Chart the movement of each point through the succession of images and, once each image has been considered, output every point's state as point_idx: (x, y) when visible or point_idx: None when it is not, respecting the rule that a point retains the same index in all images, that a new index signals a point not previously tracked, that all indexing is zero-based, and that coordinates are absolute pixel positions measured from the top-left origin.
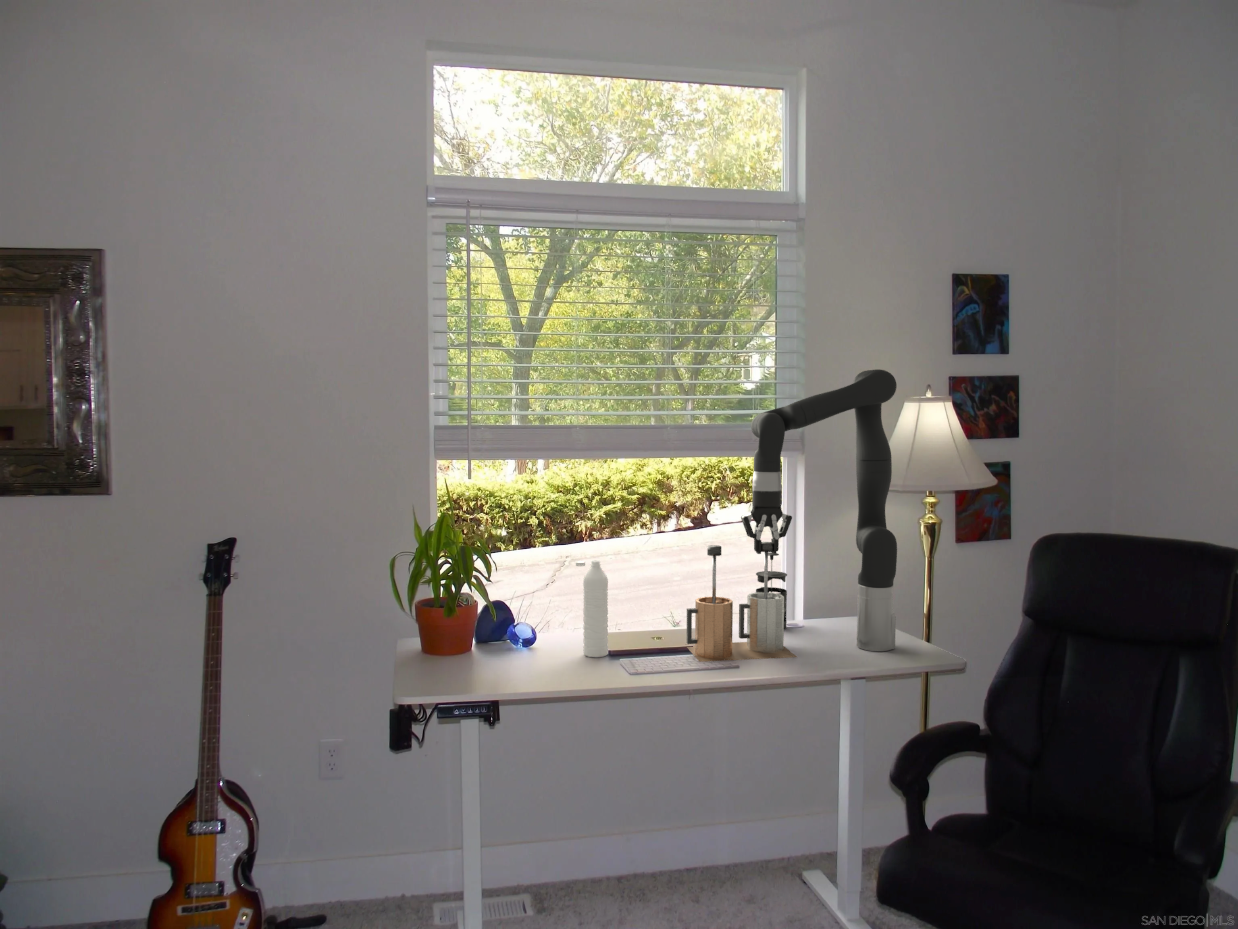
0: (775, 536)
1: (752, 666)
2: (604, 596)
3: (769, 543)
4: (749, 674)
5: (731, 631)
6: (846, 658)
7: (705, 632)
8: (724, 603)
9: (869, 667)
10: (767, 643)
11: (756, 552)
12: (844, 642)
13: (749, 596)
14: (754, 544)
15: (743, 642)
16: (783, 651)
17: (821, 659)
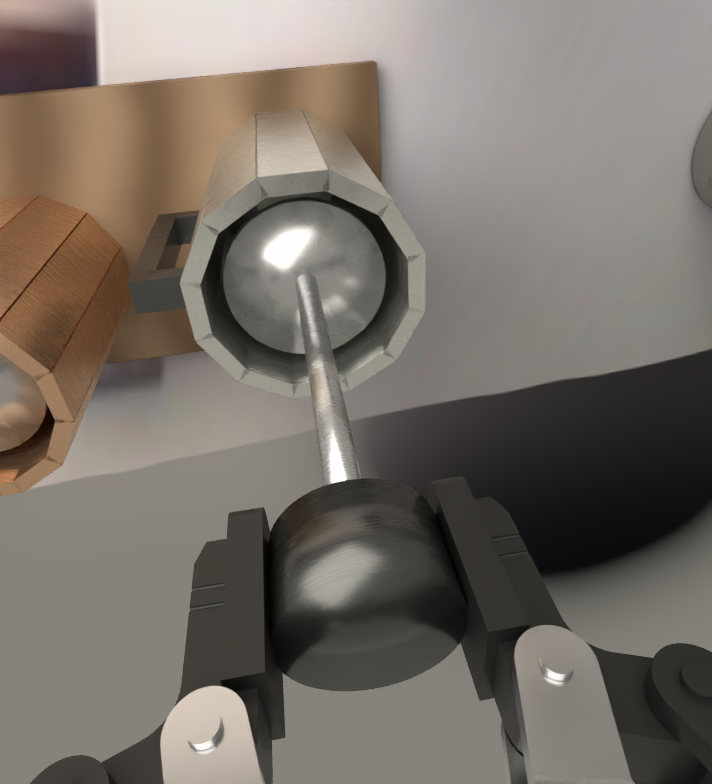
0: (516, 754)
1: (211, 367)
2: None
3: (397, 669)
4: (192, 438)
5: (108, 349)
6: (566, 284)
7: None
8: (26, 478)
9: (578, 375)
10: None
11: (231, 518)
12: (701, 38)
13: (192, 309)
14: (192, 632)
15: (196, 88)
16: None
17: (476, 293)
